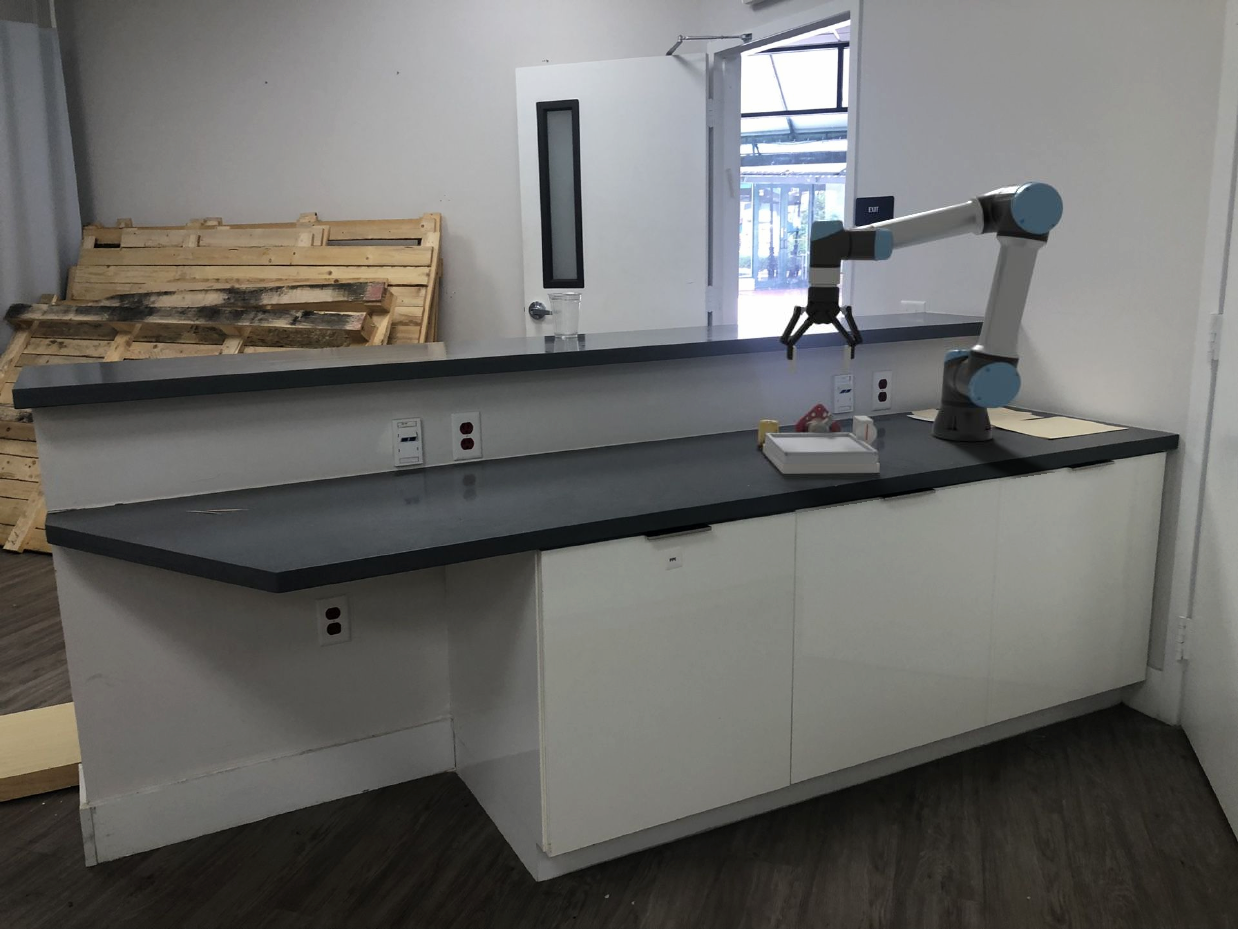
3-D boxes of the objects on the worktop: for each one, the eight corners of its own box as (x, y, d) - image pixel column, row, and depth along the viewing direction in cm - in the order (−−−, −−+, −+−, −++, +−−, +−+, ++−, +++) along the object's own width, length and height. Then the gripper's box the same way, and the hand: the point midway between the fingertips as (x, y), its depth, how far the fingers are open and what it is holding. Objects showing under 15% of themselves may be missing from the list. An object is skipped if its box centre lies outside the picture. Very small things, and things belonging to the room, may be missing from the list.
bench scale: (866, 451, 239) (868, 415, 237) (896, 472, 218) (899, 433, 216) (762, 451, 238) (764, 415, 236) (782, 473, 216) (784, 434, 214)
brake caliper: (837, 432, 249) (842, 401, 240) (839, 465, 242) (845, 434, 233) (793, 431, 250) (796, 400, 241) (793, 464, 243) (797, 433, 234)
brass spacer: (775, 442, 248) (776, 419, 247) (779, 447, 243) (780, 423, 242) (756, 443, 248) (757, 419, 247) (760, 447, 243) (761, 423, 242)
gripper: (868, 284, 239) (863, 370, 244) (769, 284, 236) (766, 371, 241) (879, 286, 231) (873, 374, 236) (777, 286, 229) (773, 375, 234)
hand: (819, 372), depth 239 cm, fingers open, 13 cm apart
